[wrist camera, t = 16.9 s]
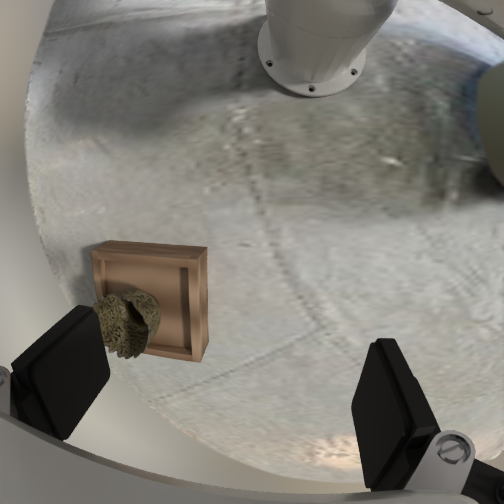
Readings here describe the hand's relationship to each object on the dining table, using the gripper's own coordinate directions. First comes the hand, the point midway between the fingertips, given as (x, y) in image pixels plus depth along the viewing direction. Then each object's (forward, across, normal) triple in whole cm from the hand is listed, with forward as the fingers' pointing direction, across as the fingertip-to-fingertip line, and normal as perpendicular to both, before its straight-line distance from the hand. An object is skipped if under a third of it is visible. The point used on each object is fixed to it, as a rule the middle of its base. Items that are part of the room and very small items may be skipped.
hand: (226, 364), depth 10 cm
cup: (+25, +14, +12) cm, 31 cm away
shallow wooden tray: (+29, +14, +12) cm, 34 cm away
